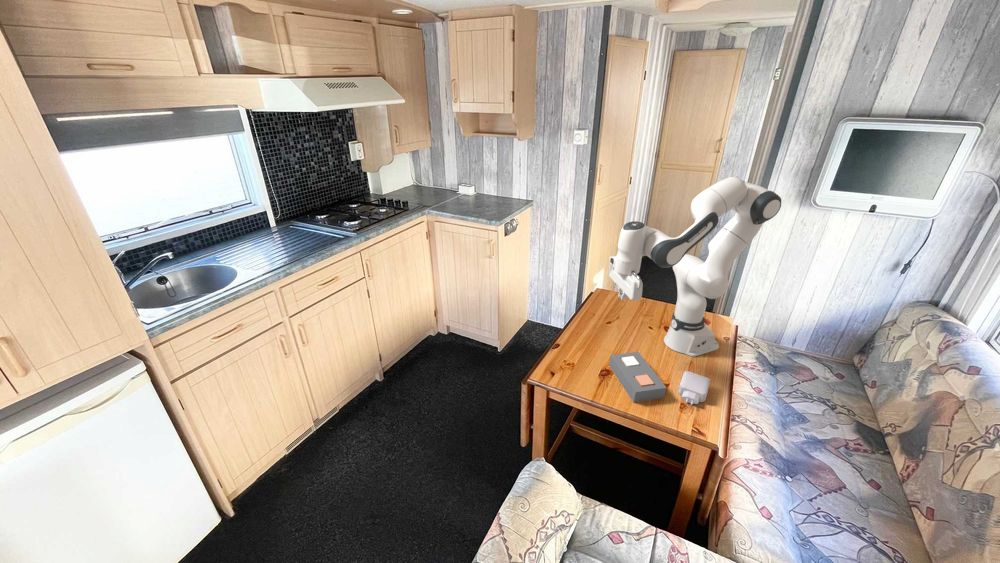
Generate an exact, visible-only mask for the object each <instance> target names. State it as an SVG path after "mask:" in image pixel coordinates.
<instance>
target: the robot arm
mask: <svg viewBox="0 0 1000 563" xmlns="http://www.w3.org/2000/svg"><path fill="white" fill-rule="evenodd" d="M781 207H782V197H781V196H780V195H779V194H777V193H776V192H775V191H773V190H768V189H767V188H765V187H763V186H760V185H759V184H756V183H755V184H754V183H752V182H748V181H747V182H746V181H745V180H743V179H742V178H740V177H737V176H729V177H726V178H724V179H721V180H720V181H717V182H715V183H714V184H712V185H710V186H709V187H707V188H705V189H703V190H702V191H701V192H699V193H697V195H696V196H695V197H694V198H693V199H692V201H691V203H690V212H691V216H692V218H693V220H694V223H693V224H692V225H690V226H689V227H688V228H686V230H684V231H683V232H682V233H681V234H680V235H678V236H675V237H671V236H670V235H669V236H668V235H667V234H666V233H664V232H663V231H661V230H659V229H657V228H654V227H649V226H647V225H646V224H645V223H644V222H643V221H642V222H641V221H634V220H633V221H629V222H627V223H625V224H623V226H622V227H621V229H620V233H619V236H618V242H617V253H616V255H613V256H609V266H608V276H609V278H610V279H611V280H612V281H613V282H614V283H615V285H616V286H617V290H618V296H617V297H618V298H620V300H621V301H626V300H627V297H628V298H629V299H630V301H640V300H641V299H642V297H643V288H644V286H643V281H642V279H641V276H640V275H638V274H639V273H640V270H641V264H642V258H643V257H648V258H649V259H650V260H652V262H654V263H655V264H656V266H658V267H660V268H665V269H666V268H667V269H668V268H671V267H672V270H673V272H674V276H675V280H676V281H675V282H676V288H677V296H676V297H677V299H676V304H675V307H674V308H675V309H674V311H673V313H672V316H671V321H670V325H669V327H668V330H667V332H666V334H665V336H664V337H663V343H664V344H665V345H666V346H667V347H668V348H669V349H671V350H672V351H675V352H678V353H681V354H684V355H687V356H690V357H693V358H695V357H699V356H701V355H704V354H708V353H711V352H714V351H717V350H719V349H720V345H719V343H718V341H717V340H716V337H715V332H714V331H713V330H712V329H711V328H710V327H709V325H711V324H712V322H711V320H709V319H708V318H705V316H704V315H705V313H706V308H707V299H710V300H716V299H718V298H721V297H722V296H723V295H725V293H726V292H727V290H728V289H729V281H728V276H729V271H730V269H731V267H732V265H733V263H734V261H735V259H737V258H738V256H739V255H740V254H741V253H742V252H743V251H744V249H746V247H748V245H749V244H751V242H752V241H753V239H754V238H755V237H756V235H757V234H758V232H759V231H760V230H761V228H762V226H763V224H765V223H766V222H768V221H769V220H771V219H773V218H774V217H775V216H777V214H778V213H779V212H780V210H781ZM730 211H734V212H735V214H734V216H732V217H731V219H729V221H727V222H726V223H725V224H724V225H723V226H722V227H721V229H720V230H719V231H718V232H717V233H716V234H715V235H714V236H713V238H711V240H710V241H709V242H708V244H707V249H708V255H707V257H706V260H705V261H704V260H702V259H701V258H699V257H698V256H695V255H692V254H688V253H689V252H690V251H691V250H692V249H693V248H695V246H696V245H698V244H699V243H700V242H701V241H702V240H704V239H705V238H706V237H707V236H708V235H709V234H710V233H711V232H713V230H714V229H715V228H716V227H717V226H718V224H719V220H720V218H721V217H723V216H724V215H726V214H728V213H729V212H730ZM706 298H707V299H706Z"/></svg>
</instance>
